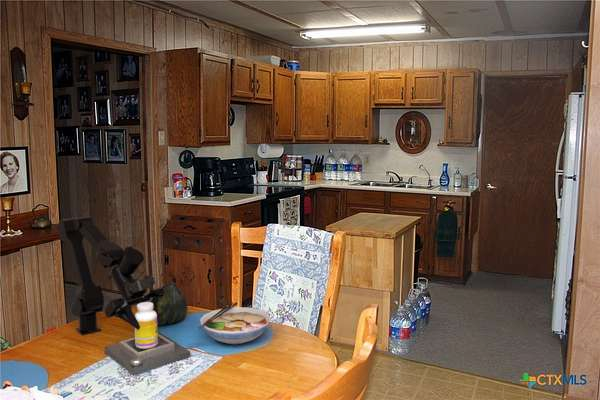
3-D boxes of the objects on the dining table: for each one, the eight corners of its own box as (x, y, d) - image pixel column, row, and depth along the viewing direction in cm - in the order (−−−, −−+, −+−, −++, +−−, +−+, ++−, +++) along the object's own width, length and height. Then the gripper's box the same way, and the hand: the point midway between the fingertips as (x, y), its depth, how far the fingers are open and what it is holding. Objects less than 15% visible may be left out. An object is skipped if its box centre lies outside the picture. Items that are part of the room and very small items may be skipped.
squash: (129, 310, 185) (152, 281, 181) (156, 299, 199) (179, 272, 194) (154, 340, 182) (178, 313, 177) (180, 327, 196) (203, 301, 191)
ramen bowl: (251, 361, 157) (251, 334, 156) (184, 349, 165) (184, 324, 164) (282, 331, 181) (282, 308, 180) (223, 322, 188) (222, 300, 187)
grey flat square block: (105, 353, 162) (104, 340, 162) (159, 338, 174) (158, 326, 174) (133, 375, 148) (132, 361, 147) (190, 357, 159) (190, 344, 159)
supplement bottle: (159, 347, 159) (158, 306, 157) (136, 351, 156) (134, 309, 155) (156, 339, 165) (154, 299, 163) (134, 342, 162) (132, 302, 161)
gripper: (108, 274, 153) (132, 320, 147) (161, 262, 167) (185, 303, 162) (94, 295, 158) (117, 339, 153) (146, 281, 173) (169, 321, 168)
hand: (148, 325), depth 159 cm, fingers closed on supplement bottle, 6 cm apart
